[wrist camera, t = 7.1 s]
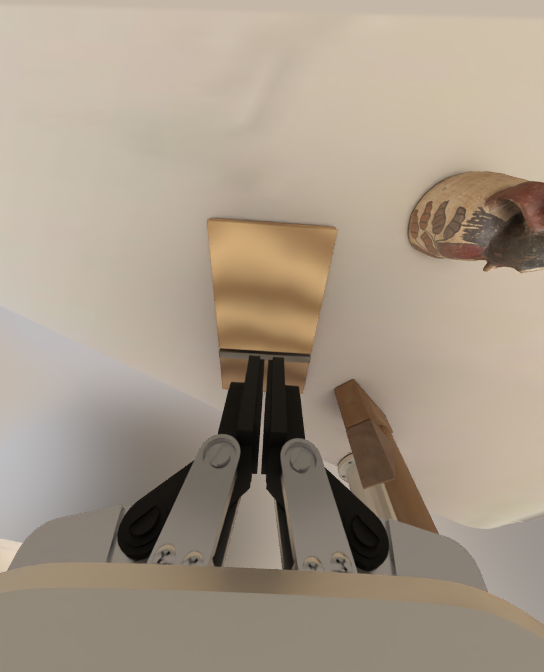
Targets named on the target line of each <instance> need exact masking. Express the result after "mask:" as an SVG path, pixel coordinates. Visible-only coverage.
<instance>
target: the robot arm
mask: <svg viewBox="0 0 544 672" xmlns="http://www.w3.org/2000/svg"><path fill="white" fill-rule="evenodd" d="M264 362H265V359H260V356H253V355H249V359H248V365H247V371H246V377H245V382H231V383H230V386H229V390H228V394H227V398H226V402H225V406H224V411H223V415H222V419H221V423H220V427H219V431H218V435H214V436H212V437H210V438H208V439H207V440H206V441H205V442H204V443H203V445H202V446H201V448H200V449H199V451H198V454H197V456H196V458H195V460H194V461H192V462H191V463H190V464H188V465H187V466H185V467H184V468H183V469H181V470H180V471H179V472H177V473H176V474H174V475H173V476H172V477H170V478H169V479H168V480H166V481H165V482H163V483H162V484H161V485H159V486H158V487H157V488H155V489H154V490H152V491H151V492H150V493H148V494H147V495H145V496H144V497H143V498H141V499H140V500H139V501H137V502H136V503H135V504H134V505H131V506H127V507H123V505H119V506H114V507H109V508H105V509H100V510H95V511H90V512H85V513H80V514H76V515H71V516H66V517H62V518H57V519H54V520H51V521H49V522H46V523H45V524H43V525H42V526H40V527H39V528H37V529H36V530H35V531H34V532H33V533H32V534H31V535H30V536H29V537H28V538H27V539H26V540H25V541H24V543H23V544H22V545H21V547H20V548H19V550H18V551H17V553H16V555H15V557H14V559H13V561H12V563H11V565H10V566H9V568H8V570H7V571H6V572H3V573H0V672H544V625H543V624H542V623H541V622H539V621H538V620H536V619H535V618H533V617H532V616H530V615H529V614H528V613H526V612H525V611H523V610H521V609H519V608H518V607H516V606H514V605H513V604H511V603H509V602H507V601H506V600H504V599H501V598H499V597H497V596H494V595H493V594H490V593H488V591H487V588H486V586H485V583H484V580H483V577H482V575H481V572H480V570H479V568H478V566H477V564H476V562H475V560H474V559H473V558H472V556H471V555H470V554H469V553H468V551H467V550H466V549H465V548H464V547H463V546H461V545H460V544H459V543H458V542H456V541H454V540H452V539H450V538H448V537H445V536H442V535H439V534H436V533H433V532H430V531H427V530H424V529H421V528H418V527H414V526H411V525H408V524H405V523H402V522H399V521H397V518H396V515H395V512H394V510H393V507H392V504H391V502H390V499H389V496H388V493H387V491H386V488H385V485H384V483H382V484H379V485H376V486H373V487H369V488H366V489H363V487H362V484H361V480H360V477H359V473H358V470H357V467H356V463H355V460H354V456H353V454H350V455H348V456H347V457H345V458H344V459H343V460H342V461H341V462H340V463H339V465H338V472H339V476H340V477H341V478H342V479H343V480H344V481H346V482H348V483H349V486H350V490H351V491H350V490H349V489H348V488H347V487H345V486H344V485H343V484H342V483H341V482H340V481H339V480H338V479H337V478H336V477H335V476H334V475H332V474H331V473H330V472H329V471H328V470H327V469H326V468H325V467H324V464H323V461H322V458H321V455H320V453H319V451H318V449H317V448H316V447H315V445H314V444H312V443H311V442H309V441H308V440H305V434H304V425H303V417H302V408H301V399H300V390H299V386H294V385H285V367H284V357H273V360H269V359H268V370H267V385H266V399H265V416H264V434H263V451H262V452H263V453H262V470H261V474H266V483H267V487H266V489H267V490H268V491H269V492H270V494H271V495H272V496H273V497H274V504H275V512H276V521H277V529H278V537H279V546H280V554H281V563H282V570H278V569H255V568H234V567H224V563H225V560H226V556H227V552H228V547H229V544H230V540H231V536H232V532H233V528H234V524H235V520H236V516H237V512H238V508H239V504H240V500H241V496H242V495H243V494H244V493H245V492H246V491H247V490H248V489H249V488H250V482H251V478H252V474H257V467H258V453H259V438H260V425H261V411H262V396H263V379H264Z"/></svg>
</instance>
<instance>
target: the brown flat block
mask: <svg viewBox="0 0 544 672" xmlns="http://www.w3.org/2000/svg"><path fill="white" fill-rule="evenodd" d="M249 355H253V356H260V359H265V362H264V379H263V391H266V385H267V370H268V359H269V360H273V357H284V367H285V385H294V386H299V390H300V393H301V394H303V390H304V385H305V380H306V375H307V370H308V365H309V363H310V358H311V357H310V354H306V353H290V352H274V351H257V350H241V349H225V348H220V350H219V357H220V363H221V376H222V388H223V389H229V386H230V383H231V382H245V377H246V371H247V365H248V359H249Z"/></svg>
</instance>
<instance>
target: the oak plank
mask: <svg viewBox="0 0 544 672" xmlns="http://www.w3.org/2000/svg"><path fill="white" fill-rule="evenodd" d="M207 227H208V237H209V247H210V258H211V268H212V278H213V288H214V299H215V309H216V319H217V329H218V339H219V348H225V349H241V350H257V351H274V352H290V353H306V354H311V350H312V346H313V341H314V337H315V332H316V327H317V323H318V318H319V314H320V309H321V304H322V300H323V295H324V291H325V286H326V282H327V277H328V272H329V268H330V263H331V259H332V254H333V249H334V245H335V240H336V236H337V231H338V230H337V229H336V228H335V227H328V226H315V225H301V224H287V223H274V222H260V221H247V220H233V219H220V218H210V219H208V220H207Z"/></svg>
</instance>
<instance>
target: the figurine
mask: <svg viewBox="0 0 544 672" xmlns="http://www.w3.org/2000/svg"><path fill="white" fill-rule="evenodd" d="M408 234H409V239H410V242H411V244H412V245H413V246H414V247H415V248H416V249H418V250H420V251H421V252H423V253H425V254H427V255H429V256H432V257H434V258H441V259H443V258H449V259H456V260H465V261H475V260H486V261H487V264H486V265H485V266H484V268H483V271H486V272H489V271H492V270H494V269H496V268H497V267H511V268H515V269H516V270H517V271H519V272H520V273H525V272H531V271H536V270H541V269H544V183H542V182H534V181H528V180H524V179H520V178H516V177H512V176H509V175H505V174H502V173H494V172H467V173H463V174H459V175H456V176H452V177H449V178H447V179H445V180H443V181H442V182H440V183H438V184H437V185H435V186H434V187H433V188H432V189H430V190H429V191H428V192H427V193H426V194H425V195H424V196H423V197H422V199H421V200H420V201H419V203H418V204H417V206H416V207H415V209H414V211H413V213H412V214H411V219H410V224H409V232H408Z"/></svg>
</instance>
